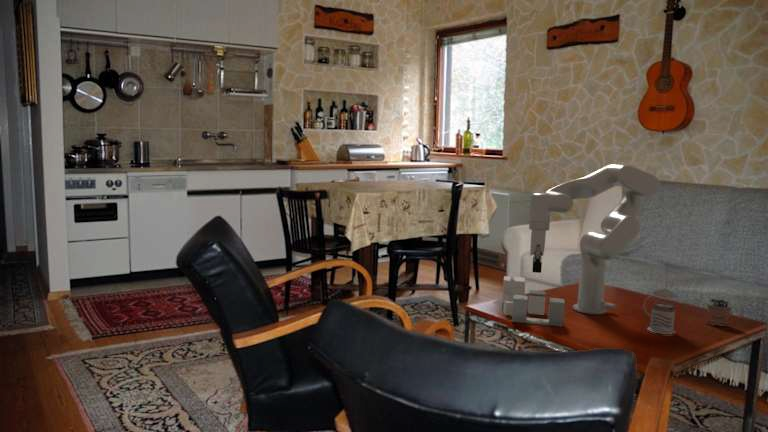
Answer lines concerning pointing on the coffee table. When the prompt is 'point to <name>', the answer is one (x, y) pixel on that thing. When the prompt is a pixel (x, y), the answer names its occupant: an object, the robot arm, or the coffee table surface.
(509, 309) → the block
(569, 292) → the coffee table surface
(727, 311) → the lighter
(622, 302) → the coffee table surface
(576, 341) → the coffee table surface
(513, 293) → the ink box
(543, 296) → the module
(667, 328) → the french press
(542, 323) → the grey u-shaped block
